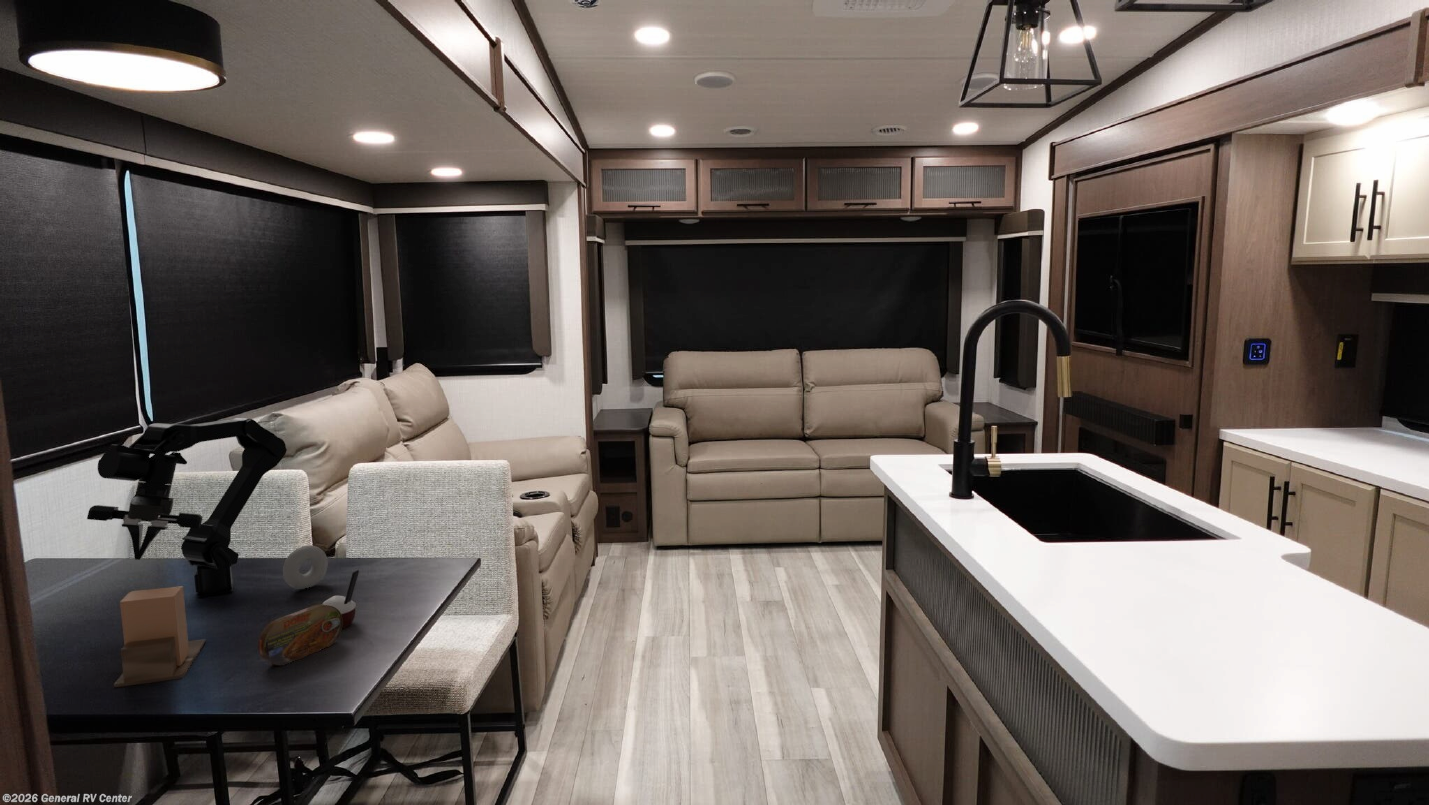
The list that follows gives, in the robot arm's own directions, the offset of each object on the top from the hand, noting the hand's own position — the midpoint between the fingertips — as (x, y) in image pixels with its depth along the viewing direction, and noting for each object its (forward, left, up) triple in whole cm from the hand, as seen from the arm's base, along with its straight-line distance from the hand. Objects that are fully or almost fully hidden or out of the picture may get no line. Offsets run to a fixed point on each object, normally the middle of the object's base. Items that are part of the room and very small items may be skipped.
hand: (137, 559), depth 157 cm
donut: (-30, -3, -13) cm, 33 cm away
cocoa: (-35, +23, -13) cm, 44 cm away
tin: (-28, +33, -13) cm, 45 cm away
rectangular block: (-5, +27, -13) cm, 30 cm away
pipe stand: (-6, +25, -13) cm, 29 cm away
